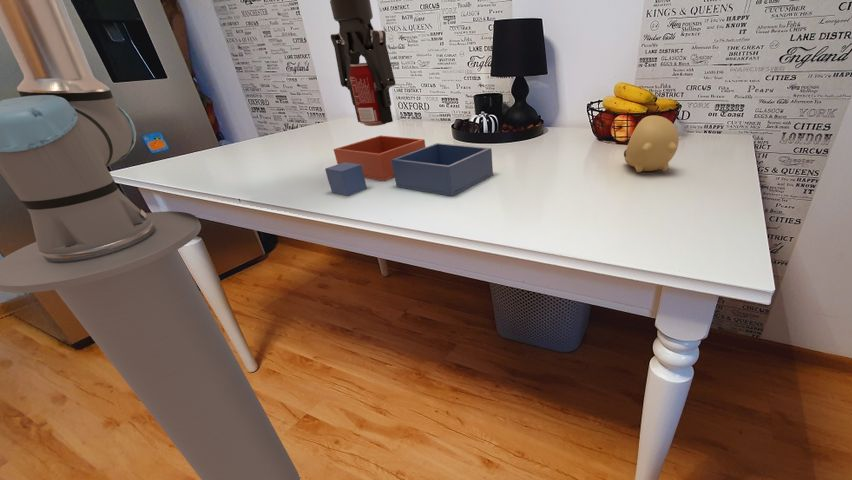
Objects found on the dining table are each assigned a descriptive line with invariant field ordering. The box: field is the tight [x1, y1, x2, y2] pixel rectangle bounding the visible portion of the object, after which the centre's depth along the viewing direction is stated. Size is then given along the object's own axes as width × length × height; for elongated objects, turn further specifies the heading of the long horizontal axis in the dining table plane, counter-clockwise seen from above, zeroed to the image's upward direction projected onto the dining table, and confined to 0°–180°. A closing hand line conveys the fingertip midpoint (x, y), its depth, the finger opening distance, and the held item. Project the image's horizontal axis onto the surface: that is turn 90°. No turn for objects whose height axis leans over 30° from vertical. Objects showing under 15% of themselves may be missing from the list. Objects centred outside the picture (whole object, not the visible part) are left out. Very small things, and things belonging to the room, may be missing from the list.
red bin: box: [333, 135, 426, 182], centre depth 93 cm, size 15×15×6 cm
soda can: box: [349, 62, 384, 127], centre depth 87 cm, size 7×7×12 cm
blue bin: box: [391, 142, 494, 197], centre depth 83 cm, size 15×15×6 cm
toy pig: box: [623, 115, 680, 173], centre depth 81 cm, size 10×12×11 cm
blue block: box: [324, 162, 368, 197], centre depth 81 cm, size 5×5×5 cm
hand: (375, 121), depth 89 cm, fingers closed on soda can, 7 cm apart
